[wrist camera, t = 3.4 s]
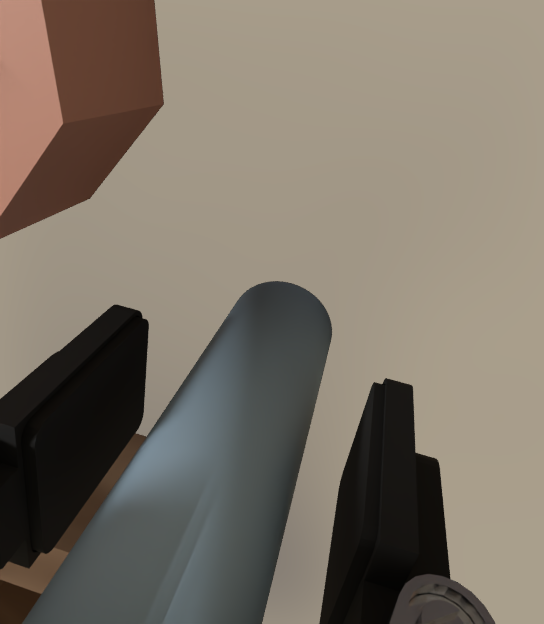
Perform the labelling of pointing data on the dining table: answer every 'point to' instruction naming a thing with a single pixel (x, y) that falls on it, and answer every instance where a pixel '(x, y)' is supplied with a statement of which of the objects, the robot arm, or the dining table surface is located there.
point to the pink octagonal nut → (70, 99)
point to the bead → (55, 549)
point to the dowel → (206, 481)
